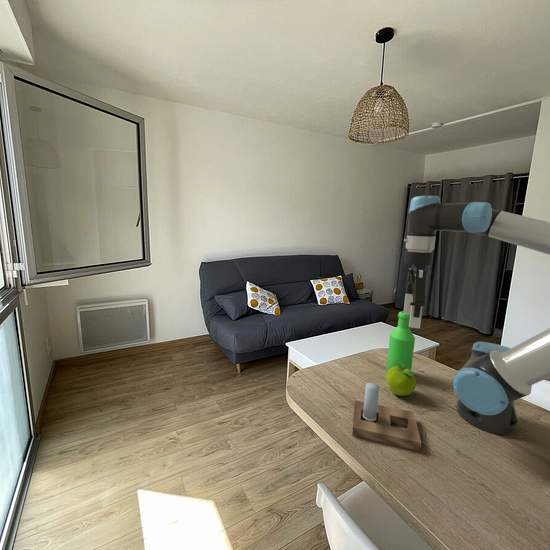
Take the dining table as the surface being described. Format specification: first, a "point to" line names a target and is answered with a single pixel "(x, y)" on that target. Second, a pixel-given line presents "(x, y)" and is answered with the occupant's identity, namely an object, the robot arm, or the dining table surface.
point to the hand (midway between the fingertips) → (411, 320)
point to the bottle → (401, 343)
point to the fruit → (401, 380)
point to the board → (387, 426)
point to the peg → (370, 402)
